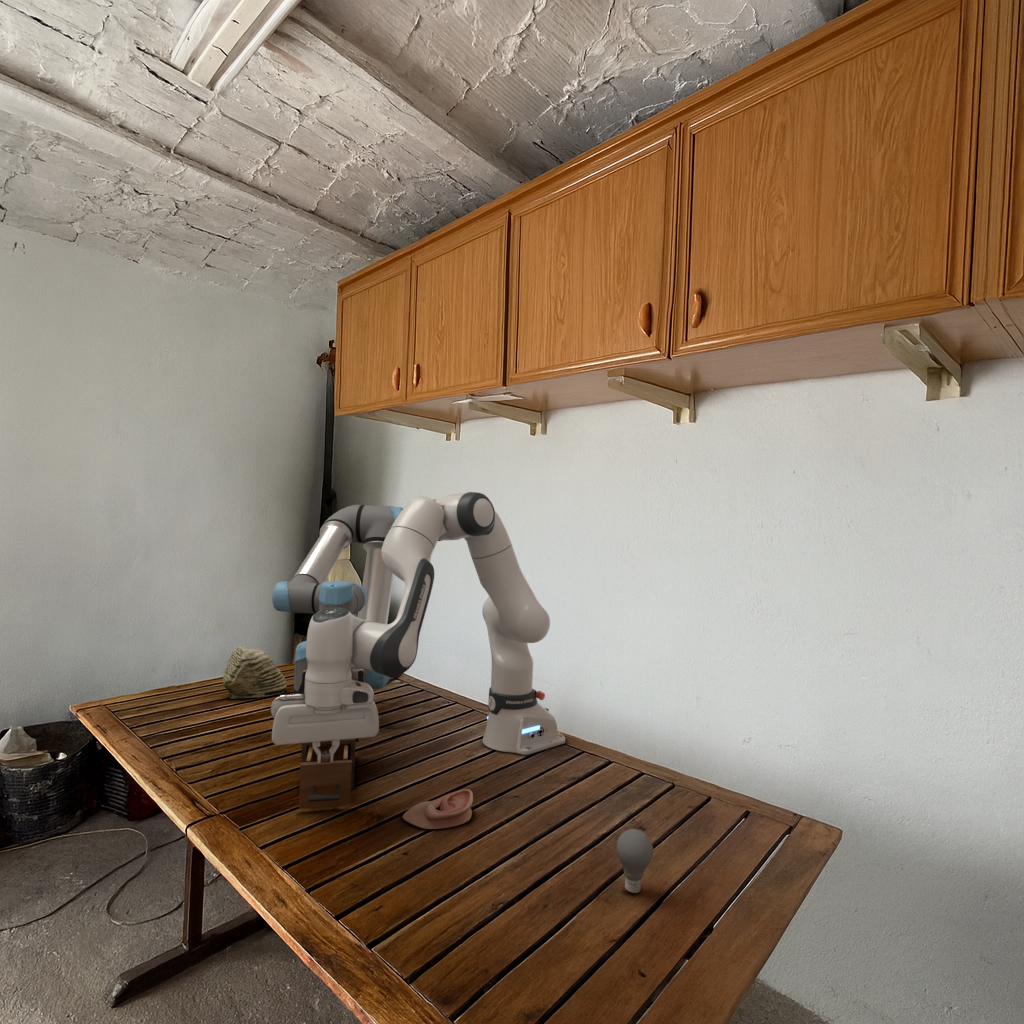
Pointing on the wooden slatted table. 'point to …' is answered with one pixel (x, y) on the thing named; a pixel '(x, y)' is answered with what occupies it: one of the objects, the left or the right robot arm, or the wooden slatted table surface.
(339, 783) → the drawer
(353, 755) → the cabinet
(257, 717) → the wooden slatted table surface
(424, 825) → the anatomical model
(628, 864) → the light bulb
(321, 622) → the right robot arm
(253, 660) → the fossil
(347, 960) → the wooden slatted table surface
